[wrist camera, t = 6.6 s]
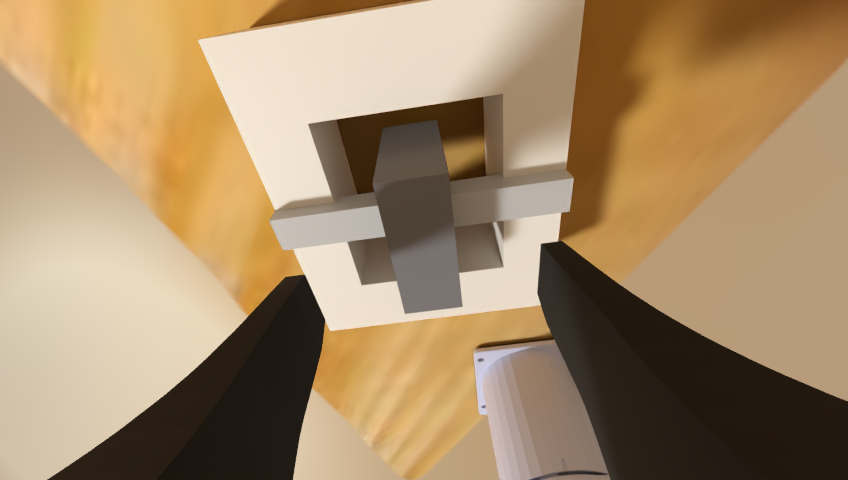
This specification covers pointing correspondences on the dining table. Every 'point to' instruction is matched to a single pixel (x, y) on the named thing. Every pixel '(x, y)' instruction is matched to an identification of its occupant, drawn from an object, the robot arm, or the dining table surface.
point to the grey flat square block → (418, 216)
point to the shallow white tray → (400, 89)
